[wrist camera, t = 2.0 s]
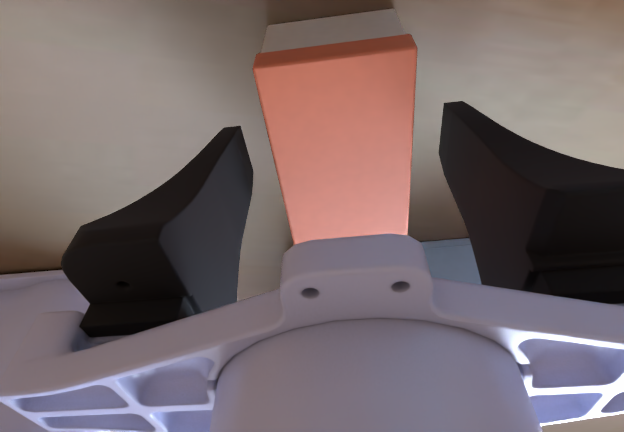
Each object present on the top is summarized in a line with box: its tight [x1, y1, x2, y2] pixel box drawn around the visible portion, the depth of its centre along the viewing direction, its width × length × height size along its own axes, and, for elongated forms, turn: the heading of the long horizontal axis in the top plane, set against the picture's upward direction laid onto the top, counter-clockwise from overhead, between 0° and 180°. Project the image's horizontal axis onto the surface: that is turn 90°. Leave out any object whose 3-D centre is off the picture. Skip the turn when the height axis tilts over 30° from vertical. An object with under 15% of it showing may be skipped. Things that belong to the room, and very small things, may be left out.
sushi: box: [253, 9, 417, 245], centre depth 15 cm, size 4×8×4 cm, turn 7°
